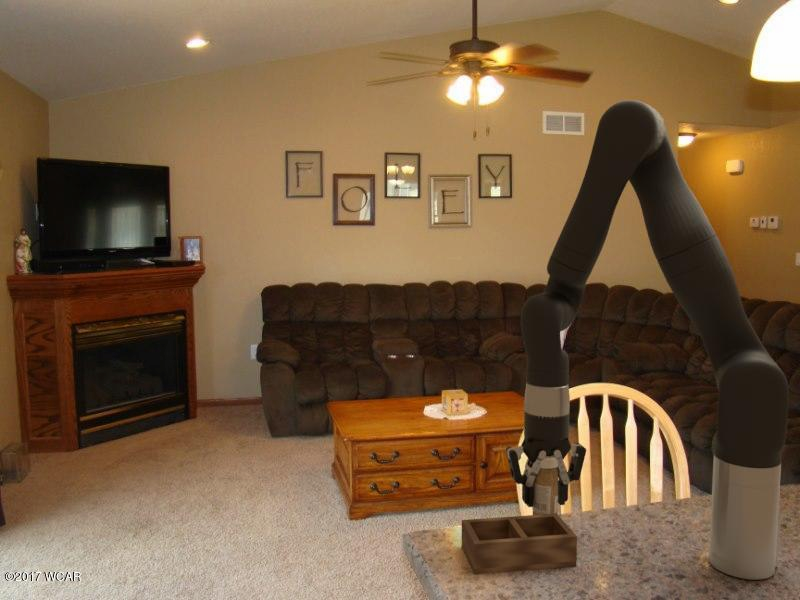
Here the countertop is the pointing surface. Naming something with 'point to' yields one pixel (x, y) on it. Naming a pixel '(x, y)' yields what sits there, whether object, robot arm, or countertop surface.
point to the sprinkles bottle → (546, 488)
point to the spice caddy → (518, 543)
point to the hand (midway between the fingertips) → (545, 503)
